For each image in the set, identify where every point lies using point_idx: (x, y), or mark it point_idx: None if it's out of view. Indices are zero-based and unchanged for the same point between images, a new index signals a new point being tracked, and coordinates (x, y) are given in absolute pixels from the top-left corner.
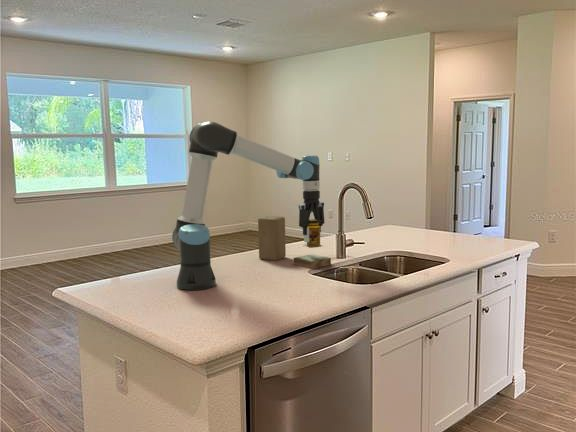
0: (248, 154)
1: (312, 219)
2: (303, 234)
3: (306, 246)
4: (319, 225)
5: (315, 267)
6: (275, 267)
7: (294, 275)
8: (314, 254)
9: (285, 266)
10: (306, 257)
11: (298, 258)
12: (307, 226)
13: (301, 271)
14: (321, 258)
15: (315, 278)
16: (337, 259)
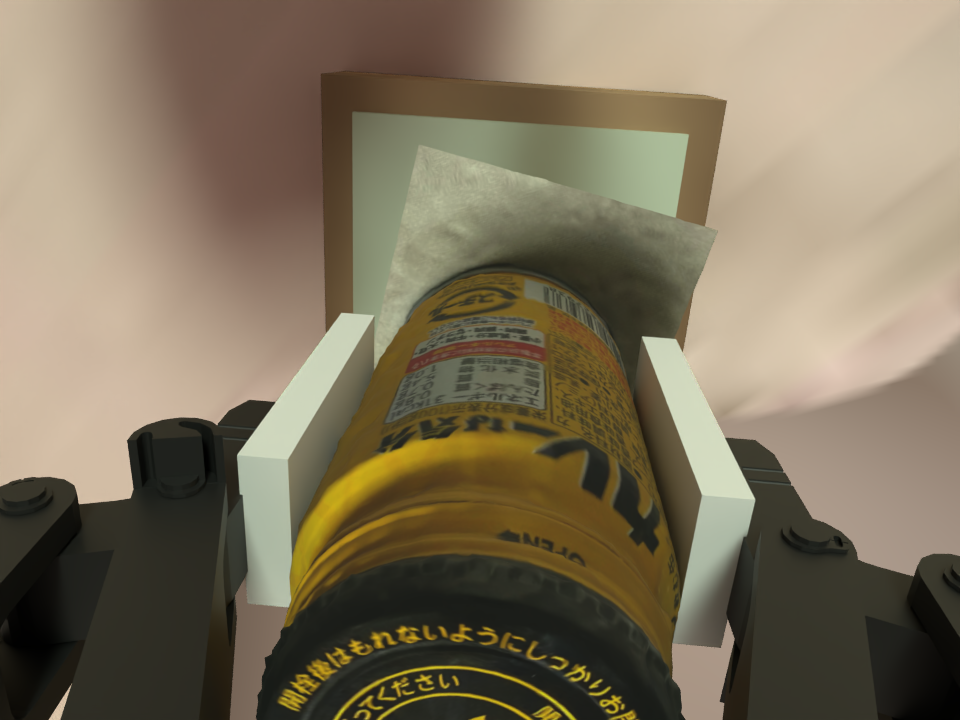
0: None
1: (596, 671)
2: (242, 415)
3: (398, 308)
4: (738, 636)
5: None
6: (54, 17)
7: (43, 450)
8: (676, 180)
9: (190, 78)
10: None
11: (347, 163)
12: (229, 628)
13: (192, 395)
14: None
15: None
16: (939, 310)
